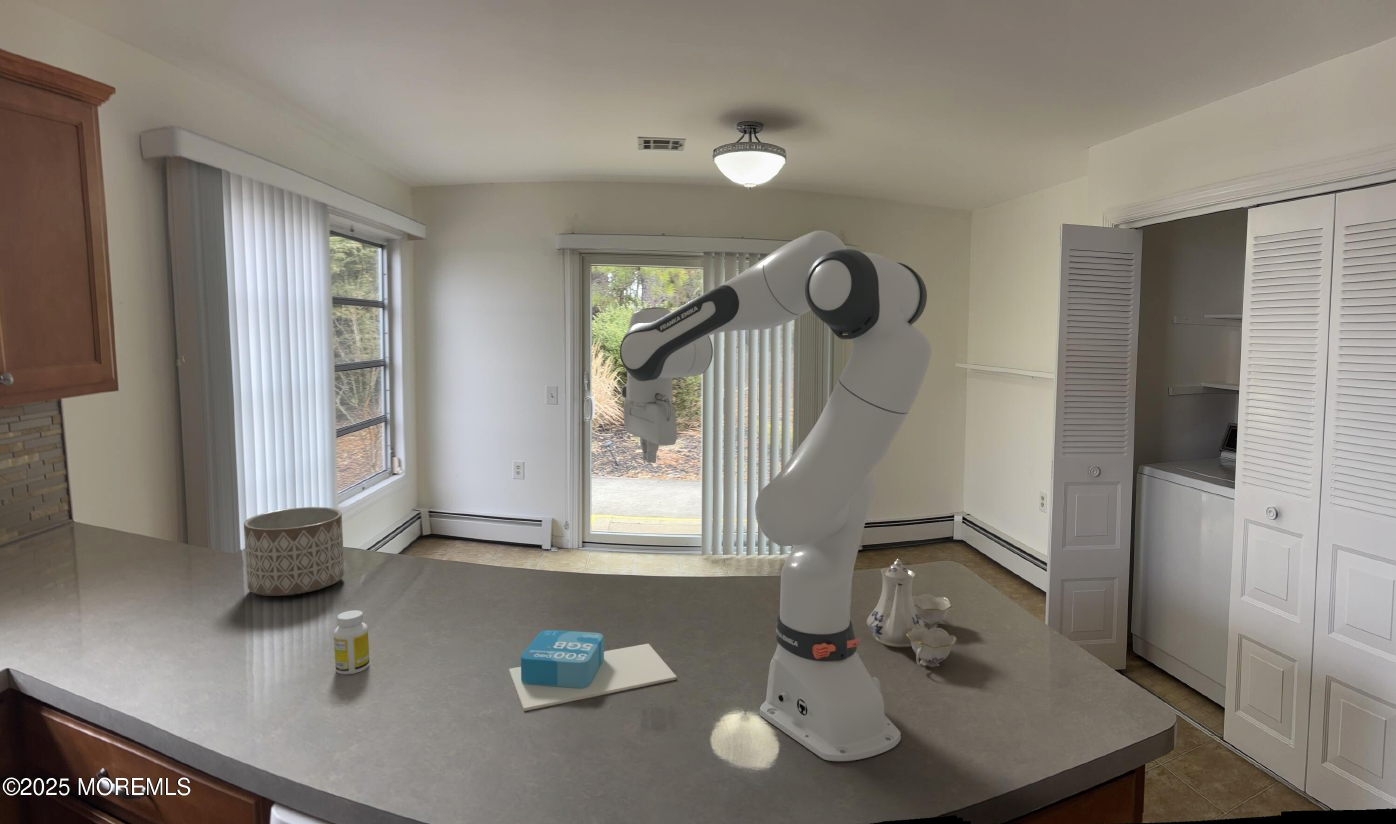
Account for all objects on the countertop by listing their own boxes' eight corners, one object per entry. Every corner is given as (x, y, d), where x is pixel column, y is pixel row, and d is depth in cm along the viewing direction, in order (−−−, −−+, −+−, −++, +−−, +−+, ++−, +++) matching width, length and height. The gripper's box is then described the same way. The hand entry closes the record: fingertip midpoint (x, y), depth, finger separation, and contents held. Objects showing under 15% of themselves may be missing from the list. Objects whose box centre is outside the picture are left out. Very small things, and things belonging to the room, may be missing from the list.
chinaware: (963, 688, 122) (979, 598, 119) (866, 668, 125) (879, 579, 123) (942, 623, 149) (955, 549, 147) (863, 608, 152) (874, 535, 150)
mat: (676, 679, 120) (676, 676, 120) (523, 711, 109) (523, 708, 109) (648, 646, 132) (648, 643, 132) (509, 671, 122) (509, 668, 122)
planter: (262, 576, 167) (258, 509, 165) (351, 569, 172) (348, 504, 171) (235, 607, 148) (231, 532, 147) (336, 597, 154) (332, 525, 152)
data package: (605, 632, 126) (587, 663, 114) (605, 656, 127) (587, 689, 115) (542, 628, 128) (517, 658, 116) (542, 652, 128) (518, 684, 116)
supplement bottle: (370, 658, 126) (368, 606, 125) (368, 672, 121) (366, 618, 120) (337, 663, 124) (334, 610, 123) (333, 677, 119) (330, 622, 118)
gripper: (685, 396, 127) (684, 470, 129) (647, 387, 146) (646, 452, 147) (653, 396, 125) (652, 472, 126) (618, 388, 143) (618, 454, 145)
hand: (649, 461), depth 137 cm, fingers closed
